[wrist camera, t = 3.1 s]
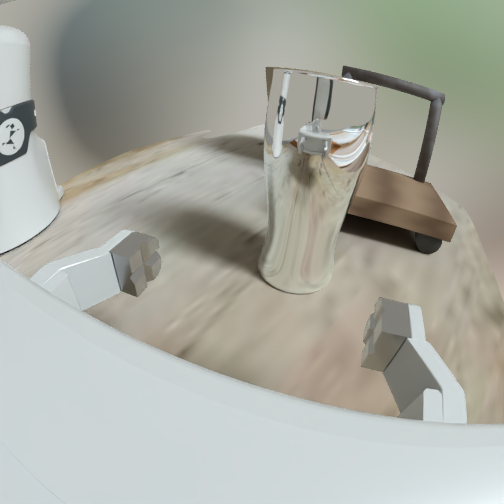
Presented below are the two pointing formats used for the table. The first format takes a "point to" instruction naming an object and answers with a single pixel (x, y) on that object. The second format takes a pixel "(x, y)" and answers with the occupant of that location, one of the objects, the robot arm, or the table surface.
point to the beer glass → (311, 172)
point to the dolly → (405, 178)
